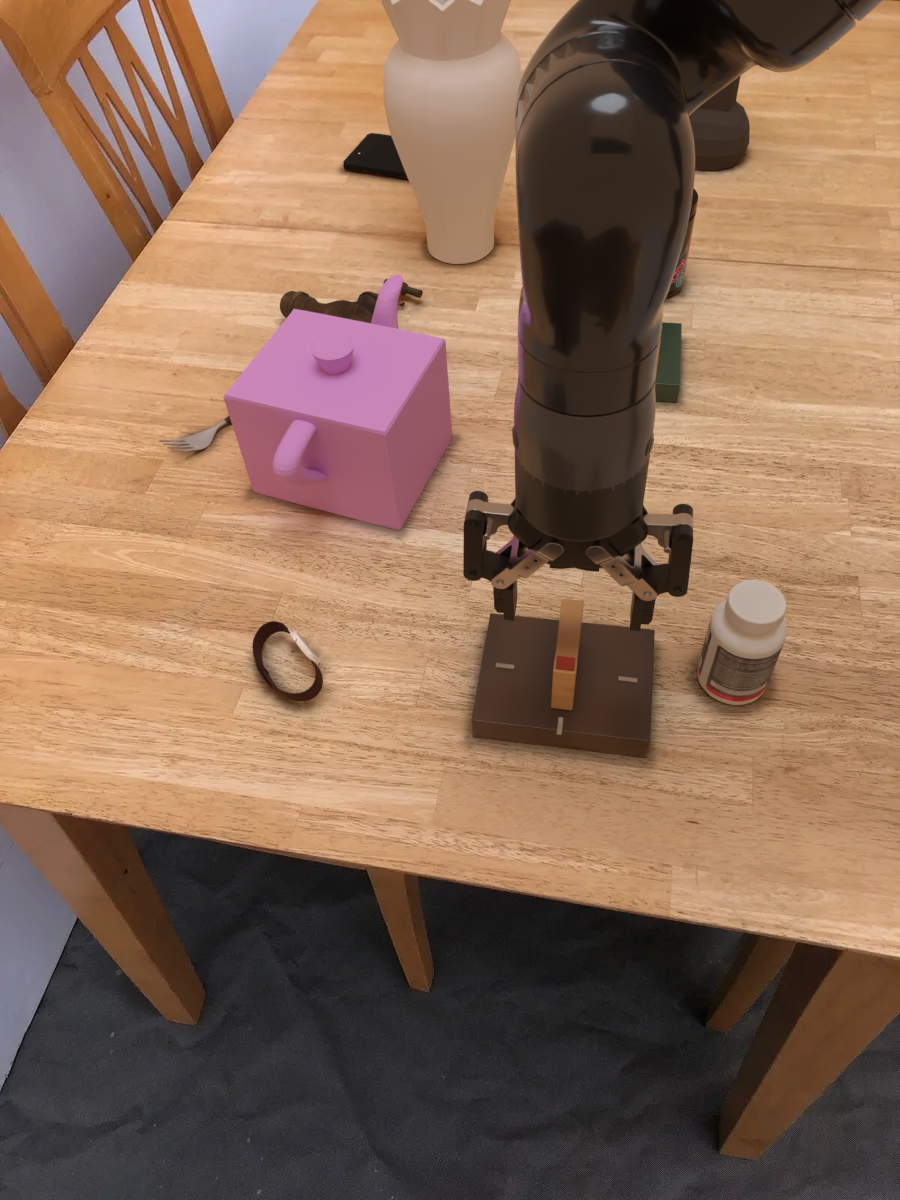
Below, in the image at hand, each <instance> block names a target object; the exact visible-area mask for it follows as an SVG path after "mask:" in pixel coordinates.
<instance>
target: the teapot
mask: <svg viewBox="0 0 900 1200" xmlns="http://www.w3.org/2000/svg"><path fill="white" fill-rule="evenodd" d="M387 279H388V280H387V281H386V282H385V283H384V282H383V283H384V284H383V283H382V286H381V287H380V289H379V292H378V294H379V295H378V298H377V302H376V305H375V309H374V313H373V317H372V321H371V323H366V322H361V321H356V320H351V319H346V318H341V317H335V316H330V315H325V314H320V313H315V312H310V311H304V310H299V309H293V310H292V312H291V313H290V315H289V316H288V317H287V318H286V317H285V319H284V320H283V322H282V323H280V325H279V327H278V328H277V329H276V330H275V332H274V333H273V334H272V335H271V336H270V337H269V339H268V340H267V341H266V342H265V344H264V345H263V346H262V347H261V349H260V350H259V351H258V352H257V353H256V355H255V356H254V357H253V359H252V360H251V361H250V363H248V364H247V366H246V367H245V369H244V370H243V371H242V373H241V374H240V375H239V376H238V378H237V379H236V380H235V381H234V382H233V384H232V385H231V386H230V388H228V390H227V391H226V392H225V393H224V395H223V400H224V404H225V407H226V409H227V414H228V416H230V419H231V422H230V423H231V425H232V429H233V432H234V435H235V438H236V441H237V444H238V447H239V451H240V454H241V457H242V460H243V463H244V467H245V470H246V474H247V476H248V479H249V481H250V486H251V488H252V491H253V493H255V494H259V495H263V496H266V497H271V498H274V499H277V500H281V501H285V502H290V503H293V504H297V505H301V506H305V507H308V508H312V509H316V510H319V511H323V512H326V513H331V514H334V515H338V516H342V517H346V518H350V519H353V520H357V521H361V522H365V523H368V524H373V525H376V526H379V527H384V528H388V529H392V530H396V531H401V530H402V528H403V526H404V524H405V523H406V521H407V519H408V517H409V516H410V513H411V512H412V510H413V508H414V507H415V505H416V503H417V501H418V499H419V498H420V496H421V494H422V492H423V491H424V489H425V487H426V486H427V484H428V482H429V480H430V479H431V476H432V475H433V473H434V471H435V469H436V468H437V466H438V464H439V462H440V460H441V459H442V457H443V456H444V454H445V452H446V450H447V448H448V447H449V445H450V443H451V441H452V440H453V425H452V412H451V397H450V382H449V371H448V370H449V369H448V357H447V356H448V355H447V344H446V343H447V342H446V339H444V338H443V337H438V336H434V335H430V334H425V333H420V332H416V331H410V330H406V329H401V328H399V322H398V321H399V319H398V306H399V298H400V296H401V295H400V292H401V288H402V284H403V282H404V279H403V276H402V275H400V274H394V275H392V276H390V277H389V278H387ZM399 295H400V296H399Z"/></svg>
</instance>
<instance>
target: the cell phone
mask: <svg viewBox="0 0 900 1200" xmlns="http://www.w3.org/2000/svg"><path fill="white" fill-rule="evenodd" d="M343 163H344V164H343ZM342 165H343V169H344V170H347V171H354V172H361V173H368V174H375V175H381V176H388V177H395V178H401V179H407V180H408V177H407V175H406V172H405V170H404V167H403V165H402V162H401V160H400V157H399V154H398V152H397V149H396V147H395V144H394V142H393V139H392V137H391V134H383V133H376V132H375V133H374V132H370V133H367V134H366V136H364V138H363V139H362V140H361V141H360V142H359V143H358V144H357V146H355V148H353V150H352V151H351V153H349V155H348V156H347V157H345V159H344V160H343V161H342Z"/></svg>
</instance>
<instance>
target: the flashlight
mask: <svg viewBox="0 0 900 1200" xmlns="http://www.w3.org/2000/svg"><path fill="white" fill-rule="evenodd" d="M740 80H741V76H739V77H738V78H737V79H735V80H734V81H733V82H731V83H730V84H729V85H727V86H726V87H724V88H723V89H722V90H720V91H719V92H718V93H716V94H715V95H714V96H712V97H711V98H710V99H708V100H707V101H706V102H705V103H703V104H702V105H701V106H700V107H698V108H697V109H696V110H695V111H694V112H693V113H692V114H691V115H690V116H689V120H690V124H691V128H692V132H693V137H694V145H695V170H698V171H700V172H701V171H702V172H703V171H705V172H708V171H709V172H711V171H721V170H725V169H730V168H732V167H735V166H736V165H738V164H740V163H741V161H742V160H743V159H744V157H745V155H746V153H747V149H748V146H749V144H750V133H751V132H750V129H751V126H750V119H749V117H748V114H747V112H746V109H745V107H744V106H743V105H742V104H741V103H740V102H738V100H737V97H738V93H739V87H740Z"/></svg>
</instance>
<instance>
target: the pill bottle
mask: <svg viewBox="0 0 900 1200" xmlns="http://www.w3.org/2000/svg"><path fill="white" fill-rule="evenodd" d="M785 597H786V596H784V594H783V592H782V591H781V590H780V589H779V588H777V586H775V585H774V584H772V583H769V582H767V581H764V580H760V579H746V580H743V581H740V582H738V583H736V584H735V585H734V586H733V587H731V589H730V591H729V593H728V595H727V598H726V599H724V600H722V601H721V602H719V603H718V604H717V606H716V607H715V608H714V609H713V610H712V611H713V612H712V613H711V616H710V618H709V623H708V626H707V630H706V634H705V637H704V641H703V643H702V644H703V645H702V648H701V651H700V655H699V660H698V664H697V670H696V676H697V679H698V682H699V684H700V687H701V688H702V689H703V691H705V693H707V694H708V696H710V697H711V698H713V699H715V700H716V701H719V702H721V703H724V704H727V705H731V706H743V705H747V704H751V703H753V702H755V701H756V700H758V699H759V698H761V696H762V695H763V694H764V693H765V691H766V689H767V687H768V685H769V683H770V680H771V677H772V674H773V672H774V670H775V667H776V664H777V662H778V659H779V657H780V654H781V652H782V650H783V647H784V645H785V643H786V639H787V635H788V625H787V621H786V618H785V615H786V612H787V600H786V598H785Z"/></svg>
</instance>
